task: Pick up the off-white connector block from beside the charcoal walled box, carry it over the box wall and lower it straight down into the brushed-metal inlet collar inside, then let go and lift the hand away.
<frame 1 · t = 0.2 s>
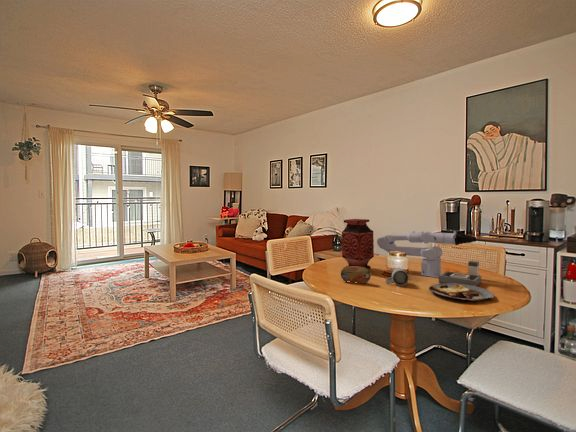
hand: (474, 239, 160), 21 cm above the table, tool horizontal, fingers open, 7 cm apart
vase: (357, 269, 193), on the table
food plate: (459, 295, 140), on the table
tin: (355, 283, 163), on the table
ceramic mug: (396, 284, 159), on the table
connector: (473, 278, 166), on the table
caddy: (459, 282, 159), on the table
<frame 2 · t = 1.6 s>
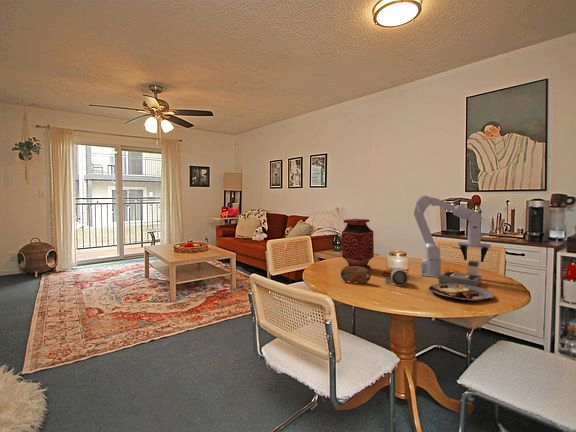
hand: (473, 260, 165), 9 cm above the table, tool pointing down, fingers open, 7 cm apart
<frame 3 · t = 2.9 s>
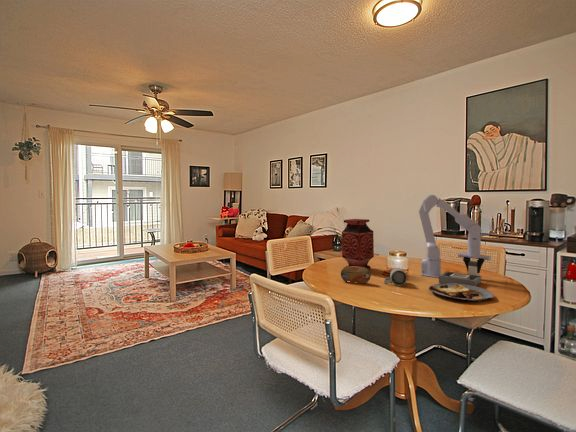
hand: (473, 272, 166), 3 cm above the table, tool pointing down, fingers closed on connector, 4 cm apart
connector: (473, 278, 166), on the table, touching gripper
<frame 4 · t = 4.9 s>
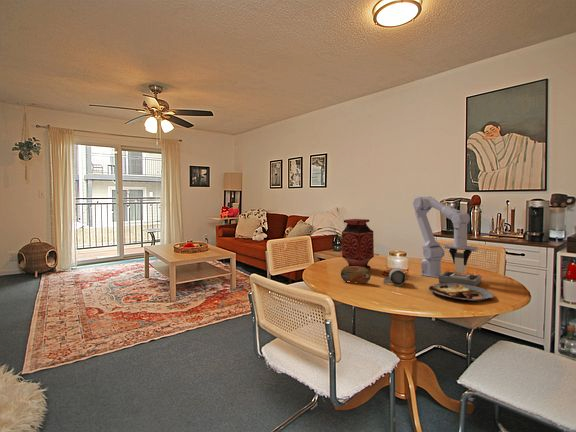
hand: (460, 264, 158), 9 cm above the table, tool pointing down, fingers closed on connector, 4 cm apart
connector: (460, 271, 158), point 6 cm above the table, touching gripper
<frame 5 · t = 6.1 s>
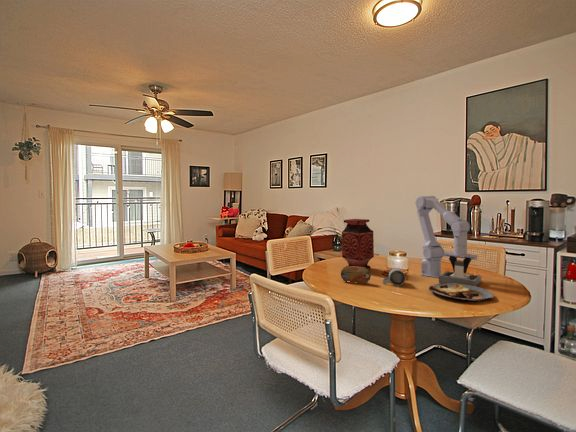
hand: (459, 272, 158), 5 cm above the table, tool pointing down, fingers closed on connector, 4 cm apart
connector: (460, 279, 159), point 2 cm above the table, touching gripper
when the fingers open (5 cm above the table, at t = 7.1 s): connector drops 1 cm, resting on caddy.
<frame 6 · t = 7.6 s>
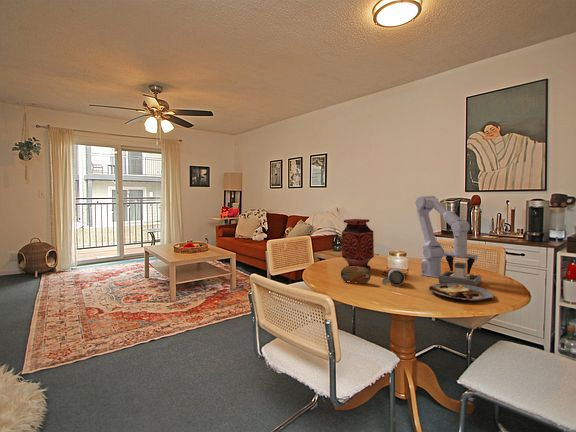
hand: (459, 272, 158), 5 cm above the table, tool pointing down, fingers open, 7 cm apart
connector: (460, 281, 159), point 1 cm above the table, touching caddy
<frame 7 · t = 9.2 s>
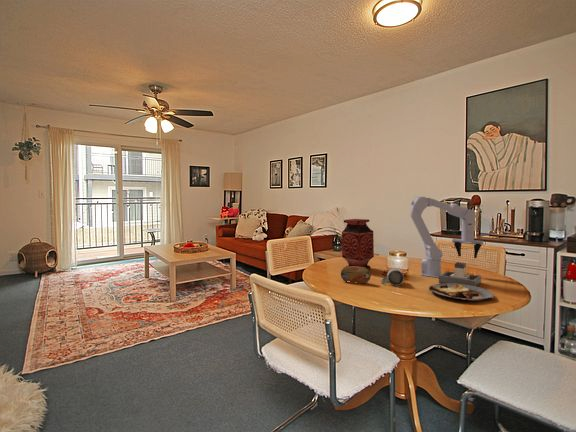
hand: (467, 257, 171), 10 cm above the table, tool pointing down, fingers open, 7 cm apart
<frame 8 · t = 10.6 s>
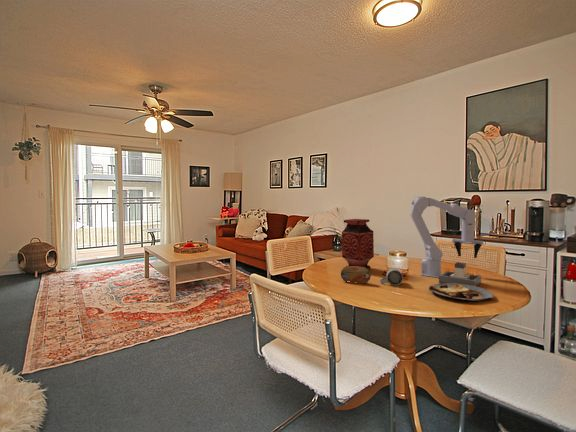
hand: (467, 257, 171), 10 cm above the table, tool pointing down, fingers open, 7 cm apart
at the end: connector 0.3 cm off-centre on the caddy, point 0.8 cm above the caddy's base; connector tilted 0°; the gripper is holding nothing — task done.
